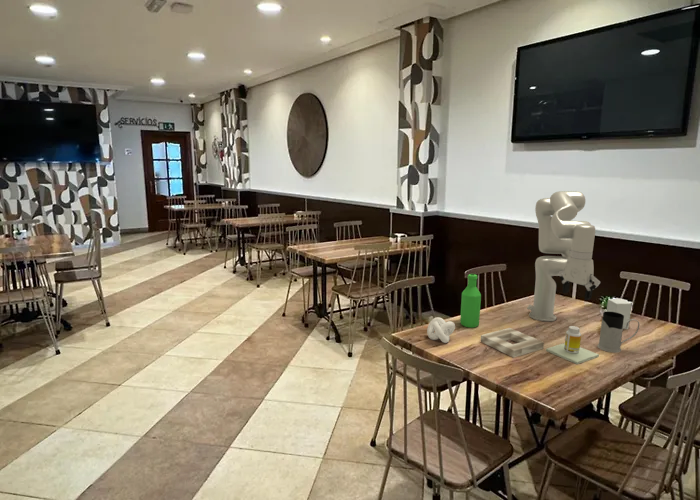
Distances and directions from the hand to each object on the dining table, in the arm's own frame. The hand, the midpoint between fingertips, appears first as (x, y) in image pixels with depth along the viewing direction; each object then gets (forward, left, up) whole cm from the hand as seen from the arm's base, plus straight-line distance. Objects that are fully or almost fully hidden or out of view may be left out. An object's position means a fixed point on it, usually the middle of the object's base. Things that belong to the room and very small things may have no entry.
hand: (576, 296), depth 178 cm
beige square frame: (-16, -17, -24) cm, 33 cm away
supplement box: (-7, +45, -24) cm, 51 cm away
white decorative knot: (-36, -40, -24) cm, 59 cm away
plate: (+2, -2, -24) cm, 24 cm away
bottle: (-42, -16, -24) cm, 51 cm away
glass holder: (+8, +19, -24) cm, 32 cm away
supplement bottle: (+2, -2, -23) cm, 23 cm away
